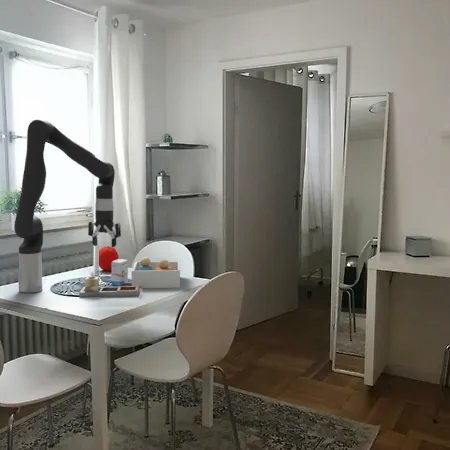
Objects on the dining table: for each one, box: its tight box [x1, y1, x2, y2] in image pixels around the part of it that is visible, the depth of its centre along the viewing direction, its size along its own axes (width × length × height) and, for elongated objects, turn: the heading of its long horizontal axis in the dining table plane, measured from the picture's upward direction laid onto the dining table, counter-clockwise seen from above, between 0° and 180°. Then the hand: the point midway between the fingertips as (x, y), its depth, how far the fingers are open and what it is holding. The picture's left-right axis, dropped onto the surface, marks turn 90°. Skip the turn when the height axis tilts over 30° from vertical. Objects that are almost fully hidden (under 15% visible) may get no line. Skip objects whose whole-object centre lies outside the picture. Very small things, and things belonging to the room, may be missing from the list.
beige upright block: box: [84, 276, 100, 291], centre depth 217 cm, size 5×5×7 cm
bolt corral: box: [131, 260, 181, 289], centre depth 244 cm, size 22×23×8 cm
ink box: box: [111, 258, 129, 286], centre depth 237 cm, size 9×5×12 cm, turn 168°
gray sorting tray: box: [78, 285, 140, 298], centre depth 218 cm, size 24×10×3 cm, turn 96°
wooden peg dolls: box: [138, 256, 172, 271], centre depth 244 cm, size 18×17×12 cm
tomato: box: [98, 245, 120, 271], centre depth 271 cm, size 12×12×13 cm
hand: (104, 246), depth 220 cm, fingers open, 8 cm apart
